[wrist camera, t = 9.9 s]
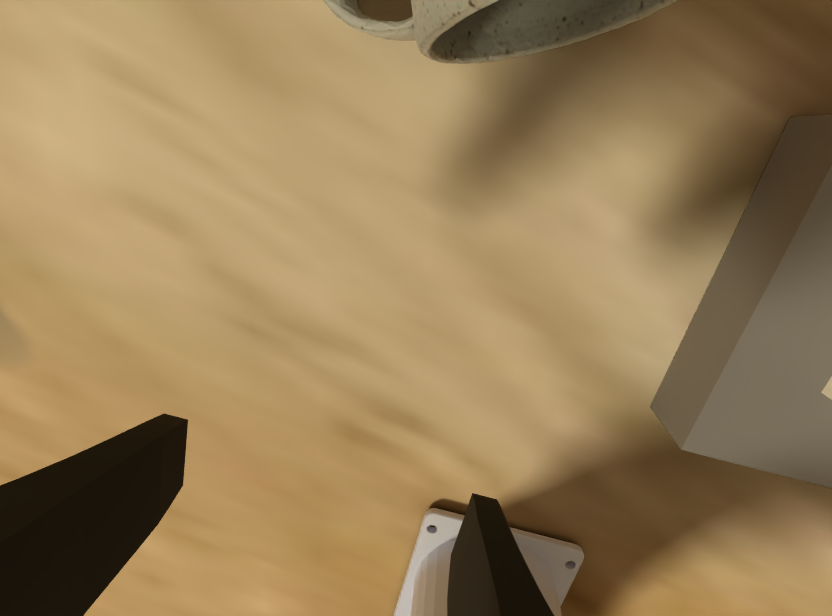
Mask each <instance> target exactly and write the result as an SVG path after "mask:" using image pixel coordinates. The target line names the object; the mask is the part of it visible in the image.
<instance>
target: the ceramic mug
mask: <svg viewBox="0 0 832 616" xmlns="http://www.w3.org/2000/svg"><path fill="white" fill-rule="evenodd" d="M675 1H677V0H411V5H412V13H413V16H412V17H410V18H408V19H406V20H403V21H397V22H394V21H384V20H377V19H369V18H368V17H367V16H366V15H365V14H364V13H363V12H362V11H361V10H360V8H359V7H358V3H357V0H324V2H325V3H326V5H327V6H328V7H329V8H330V10H331V11H332V12H333V13H334V14H335V15H336V16H337V17H338V18H339V19H341V20H342V21H343V22H345V23H346V24H348V25H349V26H351V27H352V28H354V29H356V30H358V31H360V32H363V33H366V34H369V35H372V36H376V37H380V38H384V39H388V40H399V41H414V40H417V44H418V47H419V50H420V52H421V53H422V54H423V55H424V56H426V57H428V58H430V59H431V60H435V61H438V62H441V63H458V64H467V63H483V62H494V61H498V60H502V59H506V58H511V57H517V56H526V55H531V54H535V53H539V52H543V51H546V50H550V49H554V48H558V47H562V46H567V45H570V44H572V43H575V42H579V41H583V40H586V39H588V38H591V37H594V36H597V35H599V34H603V33H606V32H609V31H612V30H615V29H617V28H620V27H622V26H625V25H627V24H629V23H632V22H635V21H638V20H640V19H643V18H646V17H647V16H649V15H651V14H652V13H654V12H656V11H658V10H659V9H662V8H664V7H667V6H669V5H671V4H672V3H674V2H675Z"/></svg>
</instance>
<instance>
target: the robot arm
mask: <svg viewBox="0 0 832 616" xmlns="http://www.w3.org/2000/svg"><path fill="white" fill-rule="evenodd" d="M187 425H188V420H187V419H183V418H179V417H175V416H171V415H167V414H162V415H160V416H157V417H155V418H153V419H151V420H149V421H146V422H144V423H142V424H140V425H138V426H136V427H134V428H132V429H129V430H127V431H125V432H123V433H121V434H119V435H117V436H115V437H113V438H110V439H108V440H106V441H104V442H102V443H100V444H97V445H95V446H93V447H91V448H89V449H87V450H84V451H82V452H80V453H78V454H76V455H73V456H71V457H69V458H66V459H64V460H62V461H59V462H57V463H54V464H52V465H50V466H47V467H45V468H43V469H40V470H38V471H35V472H33V473H31V474H28V475H26V476H23V477H21V478H19V479H16V480H14V481H11V482H8V483H6V484H3V485H0V616H83V615H84V614H85V613H86V611H87V610H88V609H89V608H90V607H91V605H92V604H93V603H94V602H95V600H96V599H97V598H98V597H99V596H100V594H101V593H102V592H103V591H104V590H105V588H106V587H107V586H108V585H109V583H110V582H111V581H112V580H113V579H114V577H115V576H116V575H117V574H118V573H119V571H120V570H121V569H122V568H123V566H124V565H125V564H126V563H127V562H128V560H129V559H130V558H131V557H132V556H133V554H134V553H135V552H136V551H137V549H138V548H139V547H140V546H141V545H142V543H143V542H144V541H145V540H146V538H147V537H148V536H149V535H150V533H151V532H152V531H153V530H154V528H155V527H156V526H157V525H158V523H159V522H160V520H161V519H162V517H163V516H164V514H165V513H166V511H167V510H168V508H169V507H170V505H171V504H172V502H173V500H174V499H175V497H176V495H177V494H178V492H179V491H180V489H181V487H182V486H183V477H184V464H185V451H186V438H187ZM429 525H434V526H436V527H430V526H429ZM583 560H584V553H583V550H582V548H581V547H580V546H579V545H576V544H573V543H569V542H565V541H561V540H557V539H554V538H550V537H546V536H542V535H538V534H534V533H530V532H526V531H523V530H519V529H515V528H511V527H509V525H508V523H507V520H506V518H505V516H504V514H503V511H502V509H501V507H500V504H499V503H498V501H497V499H493V498H489V497H485V496H481V495H477V494H473V493H472V496H471V499H470V502H469V505H468V507H467V510H466V513H465V515H461V514H457V513H453V512H449V511H445V510H441V509H437V508H431V509H429V510H427V511H426V513H425V515H424V518H423V521H422V525H421V528H420V531H419V534H418V537H417V541H416V544H415V547H414V550H413V553H412V557H411V560H410V563H409V566H408V569H407V572H406V576H405V579H404V582H403V585H402V588H401V592H400V595H399V598H398V601H397V604H396V607H395V611H394V614H393V616H562V613H561V608H560V607H561V605H562V603H563V601H564V599H565V597H566V595H567V593H568V591H569V589H570V586H571V584H572V582H573V580H574V578H575V576H576V574H577V572H578V570H579V568H580V566H581V564H582V562H583ZM568 561H572V562H568Z"/></svg>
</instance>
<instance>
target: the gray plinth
mask: <svg viewBox="0 0 832 616" xmlns="http://www.w3.org/2000/svg"><path fill="white" fill-rule="evenodd" d="M831 377H832V114H821V115H809V116H798V117H790V118H789V120H788V122H787V124H786V127H785V129H784V131H783V133H782V135H781V137H780V139H779V141H778V143H777V145H776V147H775V149H774V151H773V153H772V156H771V158H770V160H769V162H768V164H767V166H766V168H765V170H764V172H763V174H762V176H761V178H760V180H759V182H758V185H757V187H756V189H755V191H754V193H753V195H752V197H751V199H750V201H749V203H748V205H747V207H746V209H745V211H744V214H743V216H742V218H741V220H740V222H739V224H738V226H737V228H736V230H735V232H734V234H733V236H732V238H731V240H730V243H729V245H728V247H727V249H726V251H725V253H724V255H723V257H722V259H721V261H720V263H719V265H718V267H717V269H716V272H715V274H714V276H713V278H712V280H711V282H710V284H709V286H708V288H707V290H706V292H705V294H704V296H703V298H702V301H701V303H700V305H699V307H698V309H697V311H696V313H695V315H694V317H693V319H692V321H691V323H690V325H689V327H688V330H687V332H686V334H685V336H684V338H683V340H682V342H681V344H680V346H679V348H678V350H677V352H676V354H675V356H674V359H673V361H672V363H671V365H670V367H669V369H668V371H667V373H666V375H665V377H664V379H663V381H662V383H661V385H660V388H659V390H658V392H657V394H656V396H655V398H654V400H653V402H652V404H651V406H650V408H651V409H652V411H653V412H654V413H655V415H656V416H657V417H658V419H659V420H660V422H661V423H662V424H663V426H664V427H665V428H666V430H667V431H668V433H669V434H670V435H671V437H672V438H673V440H674V441H675V442H676V444H677V445H678V446H679V448H680V449H681V450H684V451H688V452H692V453H696V454H699V455H703V456H707V457H711V458H715V459H719V460H723V461H727V462H731V463H734V464H738V465H742V466H746V467H750V468H754V469H758V470H762V471H766V472H770V473H773V474H777V475H781V476H785V477H789V478H793V479H797V480H801V481H805V482H808V483H812V484H816V485H820V486H824V487H828V488H832V400H831V399H830V398H828V397H827V396H825V395H824V394H823V393H821V392H822V391H823V389H824V387H825V386H826V384H827V383H828V381H829V380H830V378H831Z"/></svg>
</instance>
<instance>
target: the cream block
mask: <svg viewBox="0 0 832 616" xmlns="http://www.w3.org/2000/svg"><path fill="white" fill-rule="evenodd" d="M821 393H823V394H824V395H825V396H827V397H828V398H830V399H831V400H832V377H831V378H830V380H829V381H828V383H827V384H826V386H825V387H824V389H823V391H822V392H821Z"/></svg>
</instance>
